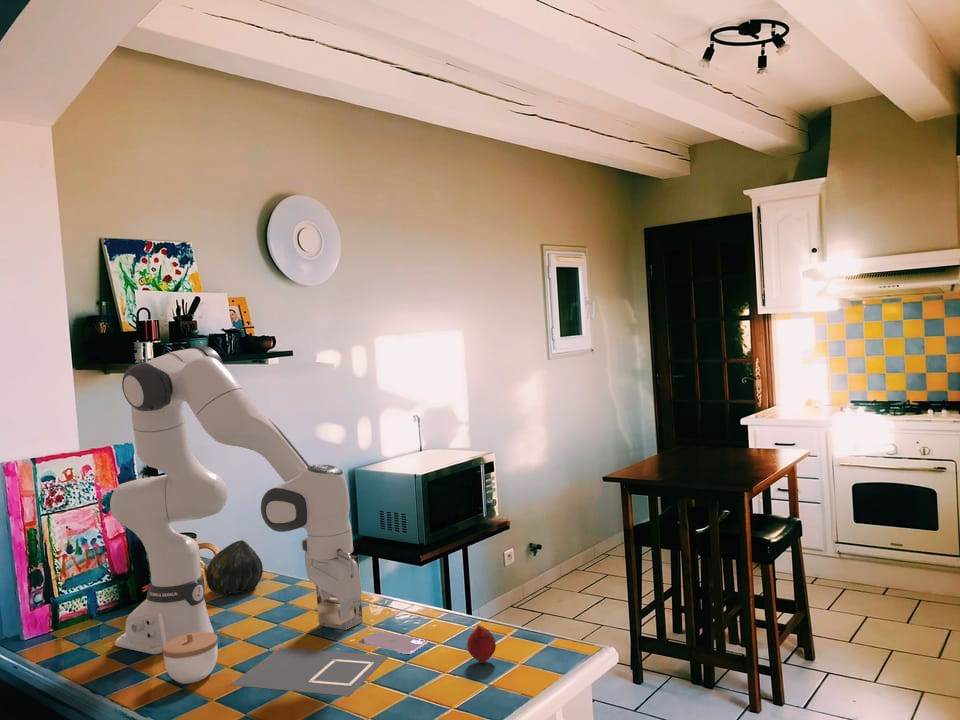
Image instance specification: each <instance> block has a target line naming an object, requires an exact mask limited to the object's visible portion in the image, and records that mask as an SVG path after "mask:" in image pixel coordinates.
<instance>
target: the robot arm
mask: <svg viewBox="0 0 960 720" xmlns="http://www.w3.org/2000/svg"><path fill="white" fill-rule="evenodd" d="M121 383H122V385H121V387H122V388H121V389H122V392H123V395H124V398H125V400H126V401H127V402H128V404H129V405H130V406H131V408H130V409H131V411H130V413H131V422H132V430H133V435H134V437H133V438H134V442H135V449H136V454H137V457H138V458H139V460H140V461H141V462H143V464H145V465H146V466H147V467H150V468H153V469H156V470H159V471H161V472H162V473H164V474H165V475H163V476H153V477H143V478H137V479H134V480H133V479H132V480H129V481H125V482H123V483H120V484H119V485H117V487H116V488H115V489H114V491H113V493H112V494H111V497H110V502H109V503H110V504H109V505H110V507H109V508H110V512H111V515H112V517H113V518H114V519H115V520H116V522H117V523H118V524H119V525H122V526H123V527H125V528H127V529H129V530H130V531H131V532H132V533H134V534H135V535H136V536H137V538H138V539H139V540H140V541H141V543H142V545H143V547H144V549H145V552H146V553H147V559H148V563H149V569H150V579H151V582H149V584H147V585H144V586H143V587H142V589H143V590H142V592H143V593H144V592H147V593H146V599H145V600H143V601H142V602H141V603H140V604H139V605H138V606H137V607H136V608H134V610H133V611H132V612H131V613H129V615H128V616H127V618H126V620H125V632H124V633H122V634H121V635H120V636H119V637H117V639H115V642H114V646H116V647H119V648H123V649H127V650H132V651H133V650H134V651H137V652H142V653H144V654H145V653H146V654H150V655H158V654H163V651H162V648H163V646H164V644H165V643H167V642H168V641H170V640H172V639H174V638H176V637H179V636H182V635H185V634H189V633H195V632H210V633H214V628H213V625H212V623H211V619H210V617H209V612H208V609H207V604H206V600H205V578H204V575H203V573H202V565H201V554H200V546H199V544H198V543H197V541H196V540H195V539H193V538H192V537H191V536H188V535H185V534H182V533H179V532H178V531H176V530H174V528H173V527H172V526H171V523H174V522H175V523H176V522H182V521H192V520H200V519H203V518H207V517H211V516H213V515H217V514H220V512H221V511H222V510H223V509H224V507H225V506H226V503H227V499H228V488H227V485H226V483H225V481H224V480H223V479H222V477H221V476H220V475H219V474H217V473H215V472H213V471H211V470H209V469H208V468H207V467H205V466H204V465H203V464H202V463H200V461H199V460H198V459H197V458H196V457H195V455H194V454H193V451H192V449H191V446H190V441H189V438H188V432H187V427H186V421H185V412H184V408H183V403H184V402H186V404H188V406H189V408H190V409H191V410H192V411H191V412H193V414H194V416H195V417H196V419H197V421H198V422H199V423H200V425H201V426H202V428H203V429H204V431H205V433H207V435H209V436H210V437H211V438H212V439H213V440H214V441H216V442H217V443H220V444H222V445H224V446H225V445H226V446H232V447H239V448H244V449H248V450H251V451H253V452H255V453H258V454H260V455H261V457H263V458H265V460H266V461H267V462H268V463H269V464H270V466H271V467H272V468H273V469H274V470H275V472H276V473H277V474H278V475H279V477H280V478H281V479H282V480H283V483H280V484H278V485H275V486H273V487H271V488H270V489H268V490H266V492H265V493H264V495H263V496H262V498H261V502H260V513H261V517H262V519H263V521H264V523H265V524H266V525H267V527H268V528H270V529H271V530H272V531H274V532H278V533H284V532H285V533H286V532H291V531H294V530H298V529H301V528H303V529H305V530H306V534H307V537H306V538H303V539H301V549H302V551H304V562H305V568H306V569H305V571H306V575H307V578H308V580H309V583H312V584H313V585H315V587H316V586H318V587H319V593H320V596H321V599H322V602H323V601H324V600H326V599H330V598H331V595H333V596H334V597H336V598H338V599H339V603H340V609H339V610H338V614H339V615H338V616H339V618H340V619H342V620H345V619H348V618H349V617H350V613H349V609H350V606H351V602H353V601H356V600H359V599H360V598H361V597H362V595H363V591H362V589H363V588H362V583H361V581H362V580H361V575H360V571H359V570H360V569H358V568H359V564H358V565H357V563H356V562H355V561H354V560H353V559H351V555H352V553H353V552H354V545H353V544H354V543H353V542H354V541H353V532H352V529H353V528H352V525H351V521H350V518H349V515H350V514H349V513H350V507H351V503H350V495H349V488H348V483H347V478H346V475H345V473H344V471H343V470H342V469H341V468H339V467H338V466H335V465H331V464H313V465H310V464H309V463H308V462H307V460H306V459H305V458H304V457H303V456H302V454H301V453H300V452H299V451H298V449H296V447H295V446H294V445H293V443H292V442H291V440H289V439H288V437H287V436H286V435H285V434H284V433H283V431H281V430H280V428H279V427H278V426H277V425H276V423H274V422H273V421H272V420H271V419H270V418H269V417H267V416H266V415H265V414H264V413H263V412H262V411H261V410H260V409H259V408H258V406H257V405H256V404H255V403H254V401H253V400H252V399H251V398H250V396H249V395H248V393H247V392H246V390H245V389H244V388H243V386H242V385H241V383H240V382H239V381H238V380H237V378H236V377H235V376H234V375H233V374H232V372H231V371H230V370H229V369H228V368H227V367H226V366H225V365H224V363H223V361H222V358H221V356H220V355H219V354H218V353H217V351H216V350H215V349H213V348H212V347H210V346H206V345H205V346H202V345H199V346H192V347H190V348H185V349H179V350H175V351H171V352H166V353H165V354H163V355H160V356H157V357H154V358H151V359H149V360H147V361H142V362H139V363H136V364H134V365H132V366H131V367H129V368H128V369H127V370H126V371H125V372H124V373H123V376H122V382H121ZM361 599H362V598H361Z"/></svg>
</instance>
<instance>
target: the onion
mask: <svg viewBox="0 0 960 720" xmlns="http://www.w3.org/2000/svg"><path fill="white" fill-rule="evenodd" d="M496 644H497V643H496V639H495V637H494V635H493V634H492V633H491V631H490V630H489V629H487V628H485V627H484V626H483V625H481V623H477V624H476V628H475V629H473V631H472V632H471V633H470V634H469V635H468V639H467V644H466V645H467V646H466V647H467V651H468V653H469V654H470V656H471V657H472V658H474V659H475V660H476V661H478V662H479V663H481V664H482V663H485V662H486V661H488V660H489V659H490V658H491V657H492V656H493V655H494V654H495V651H496V649H497V645H496Z"/></svg>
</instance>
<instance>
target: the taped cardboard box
mask: <svg viewBox="0 0 960 720" xmlns="http://www.w3.org/2000/svg"><path fill="white" fill-rule="evenodd" d="M339 609H340V603H339V599H338V598H333V597H332V598H330V599H326V600H324V601H323V602H322V603H320V604H318V605H317V615H318V616H317V618H318V623H319V622H324V623H331V624H338V625H341V624H342V623H344V622H346V621H348V620H350V619H351V618H353V617H354V607H353V602H351V606H350V609H349V613H350V617H349V618H348V619H345V620H342V619H340V618H339V616H338V615H339V614H338V610H339Z"/></svg>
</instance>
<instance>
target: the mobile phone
mask: <svg viewBox="0 0 960 720" xmlns="http://www.w3.org/2000/svg"><path fill="white" fill-rule="evenodd" d="M428 643H429V641H428V640H427V639H423V638H419V637H413V636H409V635H407V636H406V635H402V634H396V633H391V632H385V631H374V632H373V633H371V634H369V635H367V636H366V637H364V638H363V639H361V640H359V641H358V643H357V644H359V645H364V646H369V647H370V646H371V647H374V648H379V649H386V650H390V651H395V652H396V653H395V654H400V653H402V654H401V655H405V654H410V655H413V654H415V653H416V652H417V651H419V650H420V649H422V648H424V647H425V646H426V645H428ZM424 645H425V646H424ZM421 647H422V648H421ZM418 649H419V650H418ZM416 650H417V651H416ZM415 651H416V652H415ZM412 653H413V654H412Z"/></svg>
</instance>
